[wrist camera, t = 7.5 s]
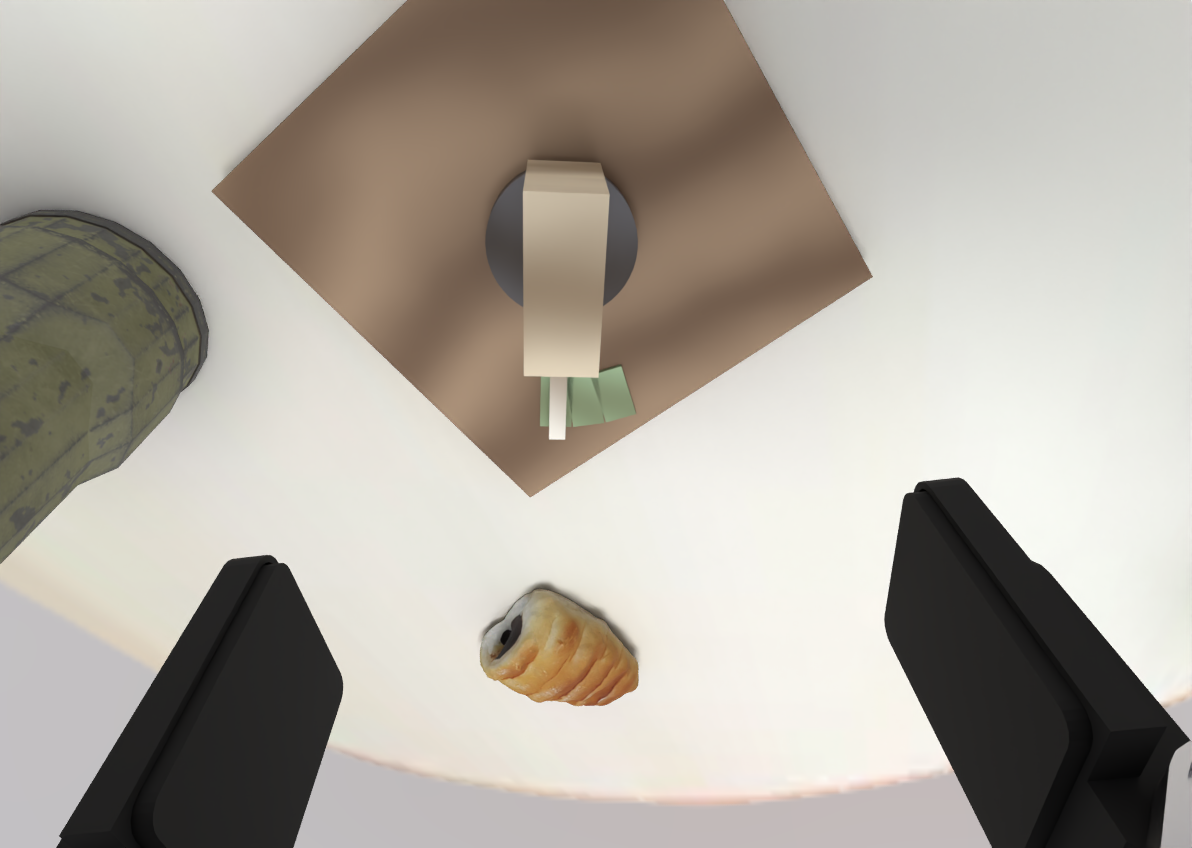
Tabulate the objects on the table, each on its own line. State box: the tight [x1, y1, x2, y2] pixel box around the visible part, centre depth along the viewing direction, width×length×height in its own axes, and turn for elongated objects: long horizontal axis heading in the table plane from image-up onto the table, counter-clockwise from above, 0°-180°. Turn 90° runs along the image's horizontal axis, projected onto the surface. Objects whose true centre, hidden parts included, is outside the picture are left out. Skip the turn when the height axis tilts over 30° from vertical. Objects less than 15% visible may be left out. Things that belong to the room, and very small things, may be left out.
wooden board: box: [212, 0, 873, 497], centre depth 27 cm, size 18×18×2 cm
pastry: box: [480, 589, 638, 706], centre depth 39 cm, size 9×7×4 cm
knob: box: [485, 160, 638, 440], centre depth 25 cm, size 12×6×6 cm, turn 177°
